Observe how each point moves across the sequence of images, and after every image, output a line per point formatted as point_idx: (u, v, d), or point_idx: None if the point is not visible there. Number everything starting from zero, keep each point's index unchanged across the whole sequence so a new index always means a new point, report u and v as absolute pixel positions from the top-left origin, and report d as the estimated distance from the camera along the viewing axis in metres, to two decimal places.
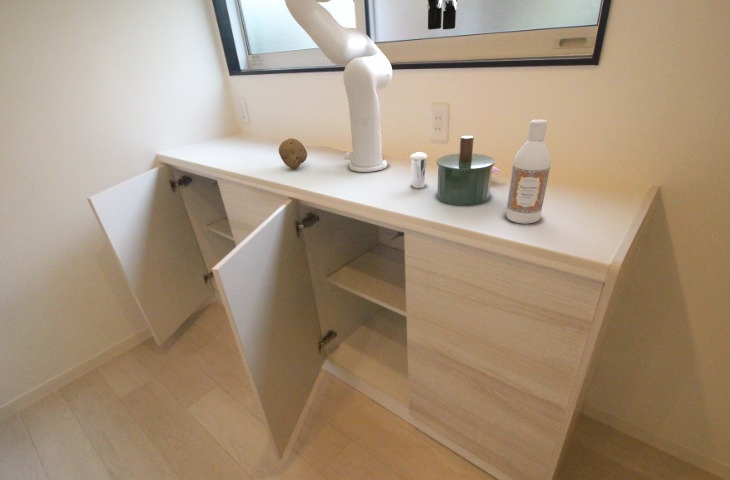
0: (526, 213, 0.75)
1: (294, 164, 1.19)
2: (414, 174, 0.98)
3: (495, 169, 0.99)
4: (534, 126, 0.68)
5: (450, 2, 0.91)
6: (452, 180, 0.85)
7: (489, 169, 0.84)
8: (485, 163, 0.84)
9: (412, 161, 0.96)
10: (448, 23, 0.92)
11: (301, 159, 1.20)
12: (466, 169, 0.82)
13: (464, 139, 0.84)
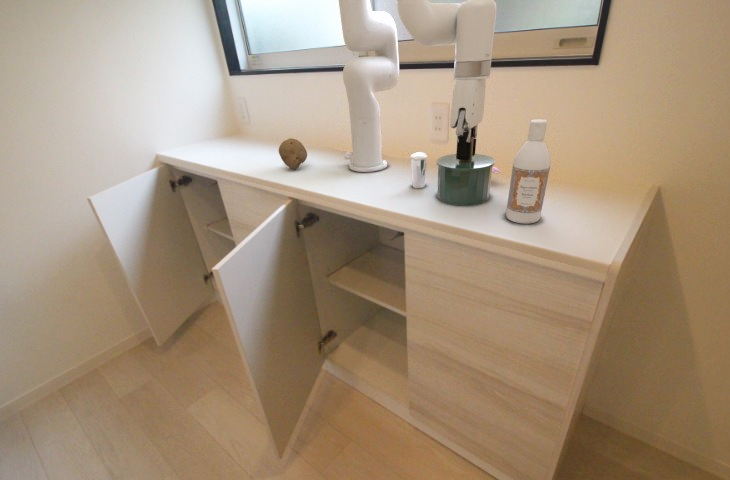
0: (526, 213, 0.75)
1: (294, 164, 1.19)
2: (414, 174, 0.98)
3: (495, 169, 0.99)
4: (534, 126, 0.68)
5: None
6: (452, 180, 0.85)
7: (489, 169, 0.84)
8: (485, 163, 0.84)
9: (412, 161, 0.96)
10: None
11: (301, 159, 1.20)
12: (466, 169, 0.82)
13: None
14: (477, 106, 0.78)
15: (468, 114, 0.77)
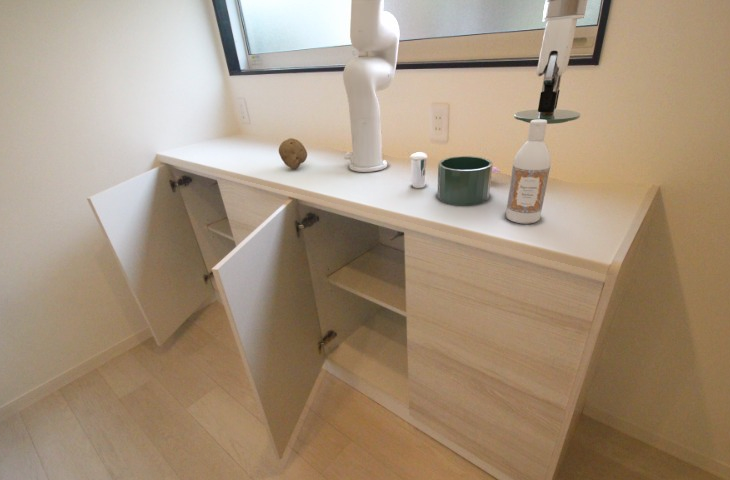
0: (526, 213, 0.75)
1: (294, 164, 1.19)
2: (414, 174, 0.98)
3: (495, 169, 0.99)
4: (534, 126, 0.68)
5: None
6: (452, 180, 0.85)
7: (489, 169, 0.84)
8: (570, 115, 0.79)
9: (412, 161, 0.96)
10: None
11: (301, 159, 1.20)
12: (553, 120, 0.76)
13: None
14: (569, 50, 0.73)
15: (560, 58, 0.72)
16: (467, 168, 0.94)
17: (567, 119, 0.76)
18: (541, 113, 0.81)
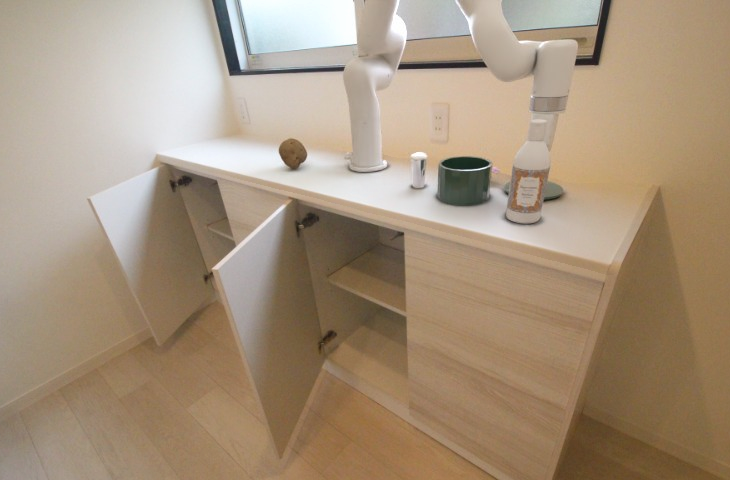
0: (526, 213, 0.75)
1: (294, 164, 1.19)
2: (414, 174, 0.98)
3: (495, 169, 0.99)
4: (534, 126, 0.68)
5: None
6: (452, 180, 0.85)
7: (489, 169, 0.84)
8: (554, 191, 0.88)
9: (412, 161, 0.96)
10: None
11: (301, 159, 1.20)
12: None
13: None
14: (552, 138, 0.82)
15: None
16: (467, 168, 0.94)
17: (551, 197, 0.85)
18: None
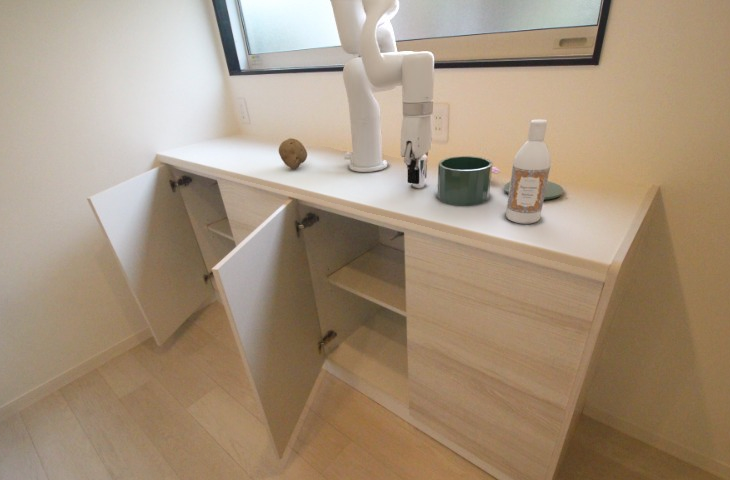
0: (526, 213, 0.75)
1: (294, 164, 1.19)
2: None
3: (495, 169, 0.99)
4: (534, 126, 0.68)
5: None
6: (452, 180, 0.85)
7: (489, 169, 0.84)
8: (554, 191, 0.88)
9: None
10: None
11: (301, 159, 1.20)
12: None
13: None
14: (422, 139, 0.91)
15: (414, 146, 0.90)
16: (467, 168, 0.94)
17: (551, 197, 0.85)
18: None
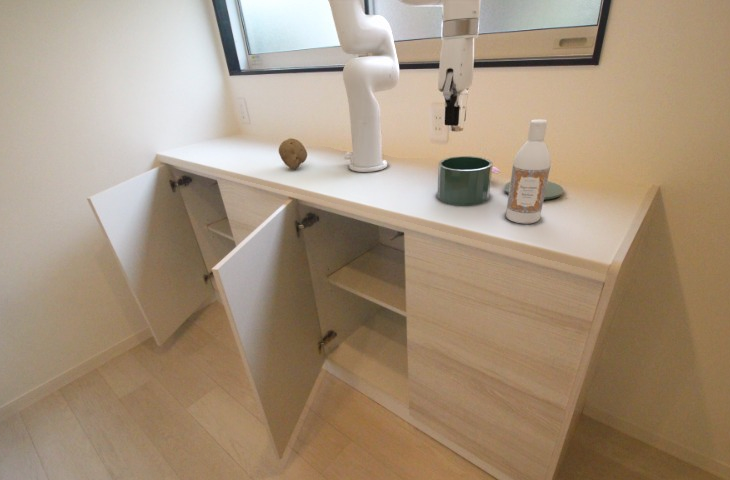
0: (526, 213, 0.75)
1: (294, 164, 1.19)
2: None
3: (495, 169, 0.99)
4: (534, 126, 0.68)
5: None
6: (452, 180, 0.85)
7: (489, 169, 0.84)
8: (554, 191, 0.88)
9: None
10: None
11: (301, 159, 1.20)
12: None
13: None
14: (465, 67, 0.77)
15: (456, 75, 0.76)
16: (467, 168, 0.94)
17: (551, 197, 0.85)
18: None
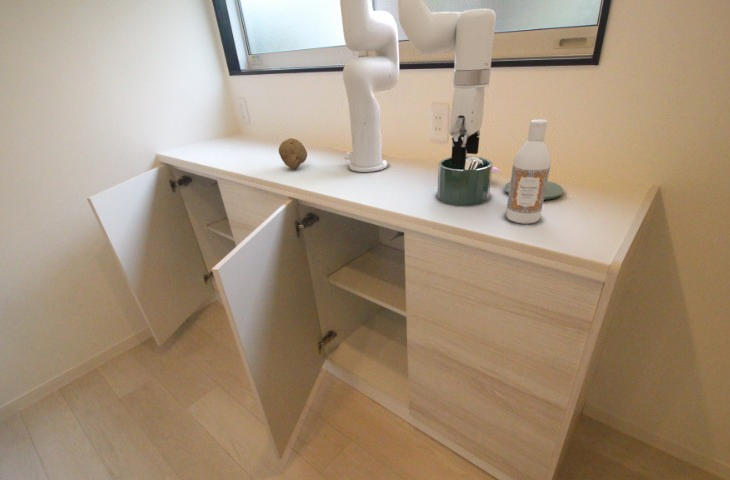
0: (526, 213, 0.75)
1: (294, 164, 1.19)
2: None
3: (495, 169, 0.99)
4: (534, 126, 0.68)
5: None
6: (452, 180, 0.85)
7: (489, 169, 0.84)
8: (554, 191, 0.88)
9: (468, 161, 0.88)
10: (471, 149, 0.90)
11: (301, 159, 1.20)
12: None
13: None
14: (476, 114, 0.79)
15: (467, 122, 0.78)
16: None
17: (551, 197, 0.85)
18: None
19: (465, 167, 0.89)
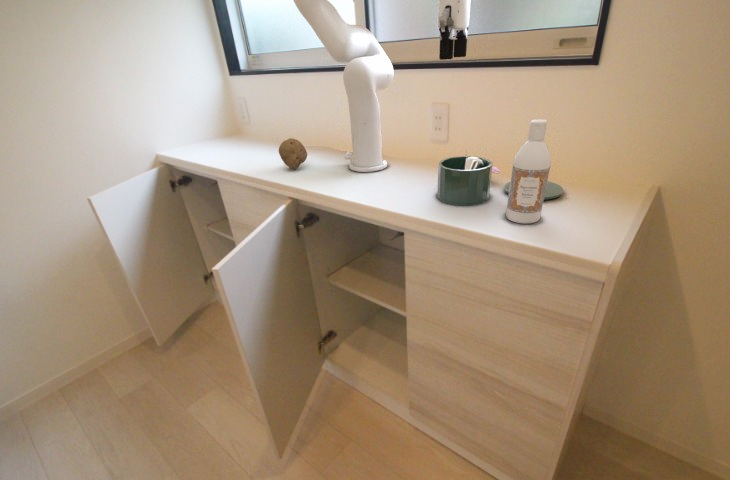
0: (526, 213, 0.75)
1: (294, 164, 1.19)
2: None
3: (495, 169, 0.99)
4: (534, 126, 0.68)
5: (461, 30, 0.91)
6: (452, 180, 0.85)
7: (489, 169, 0.84)
8: (554, 191, 0.88)
9: (468, 161, 0.88)
10: (459, 51, 0.93)
11: (301, 159, 1.20)
12: None
13: None
14: (462, 5, 0.82)
15: (454, 11, 0.81)
16: None
17: (551, 197, 0.85)
18: None
19: (465, 167, 0.89)
